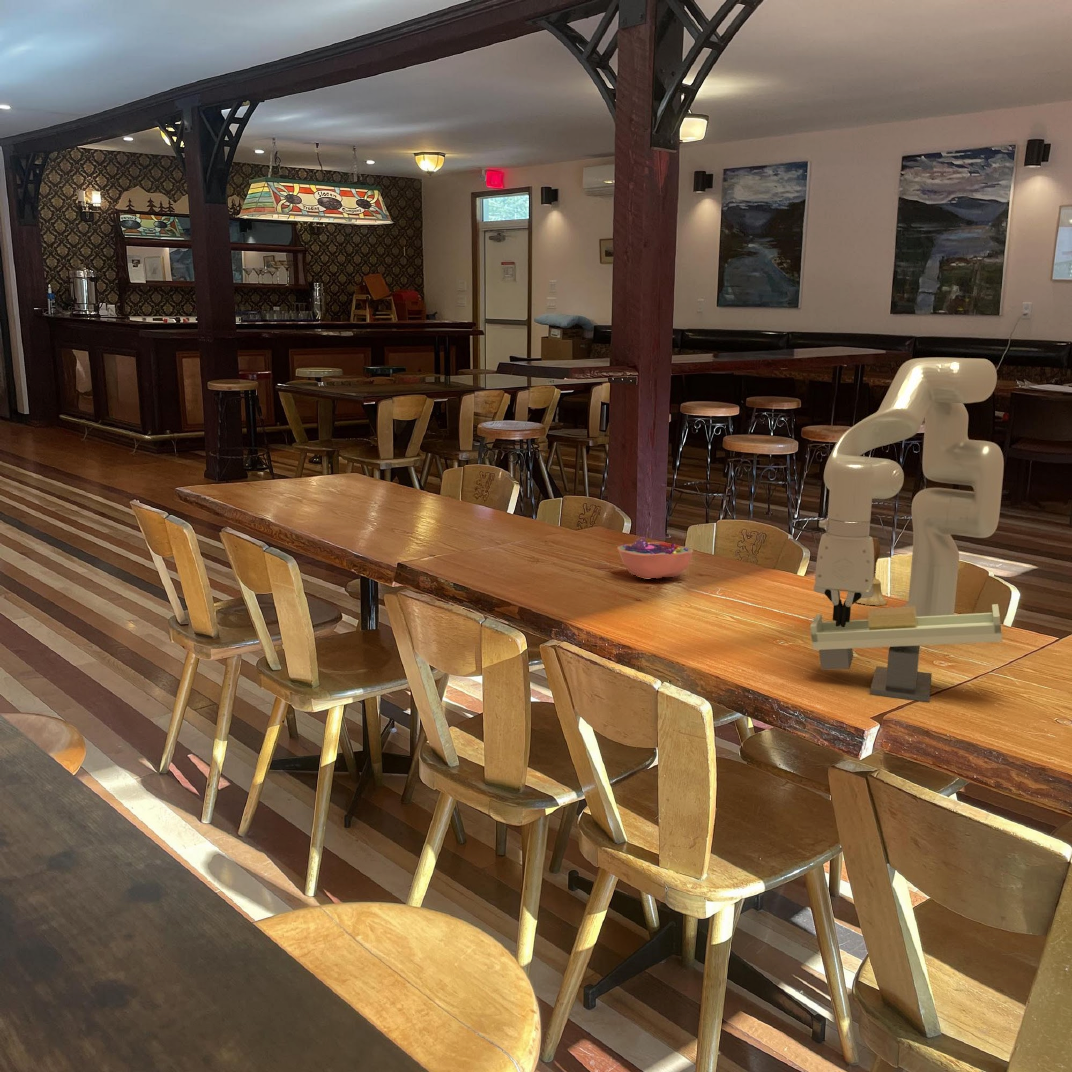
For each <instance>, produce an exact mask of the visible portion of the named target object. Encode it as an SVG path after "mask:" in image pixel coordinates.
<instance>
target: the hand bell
mask: <svg viewBox="0 0 1072 1072" xmlns="http://www.w3.org/2000/svg"><path fill="white" fill-rule="evenodd" d="M872 538H873V544H874V579H873V584H872V586H873V591H874V595H873V597H870V598H860V599H859V600H858V601H856V602H857V603H856V602H855V603H856V604H858V603H861V604H860V605H863V604H865V605H864V606H870V605H875V606H874V607H881V606H880V605H882V606H885V605H887V604H888V601H887V599H886V598H885V597H884V595H883V592H882V586H881V584H882V583H881V581H880V580H879V579H877V578H876V572H877V562H878V560H879V558H880V553H881V552H880V551H881V546H880V542H879V538H878V537H872Z"/></svg>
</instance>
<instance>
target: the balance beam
mask: <svg viewBox="0 0 1072 1072" xmlns="http://www.w3.org/2000/svg"><path fill="white" fill-rule="evenodd" d="M991 608H992V609H991V610H992V612H981V613H961V614H954V615H939V616H921V617H917V626H918V628H901V629H881V630H869V623H868V618H867V619H850V622H846V625H845V627H842V626H841V624H840V626H839V627H837V626H836V621H833V620H832V621H823V614H821V613H820V614H815V616H814V619H813V620H812V621H811V624H810V626H809V630H810V636H811V637H810V638H811V645H812V650H813V651H818V655H819V662H820V670H821V671H822V670H823V671H827V670H849V669H850V668H851V665H852V661H853V659H854V650H853V649H865V648H866V649H868V648H869V649H870V648H890V647H894V646H917V645H920V646H935V645H938V646H939V645H957V644H958V645H959V644H979V643H980V644H981V643H983V644H984V643H1002V642H1003V634H1002V626H1001V625H1002V624H1001V616H1000V609H999V604H998V603H996V604H995V603H994V604H991Z"/></svg>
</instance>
